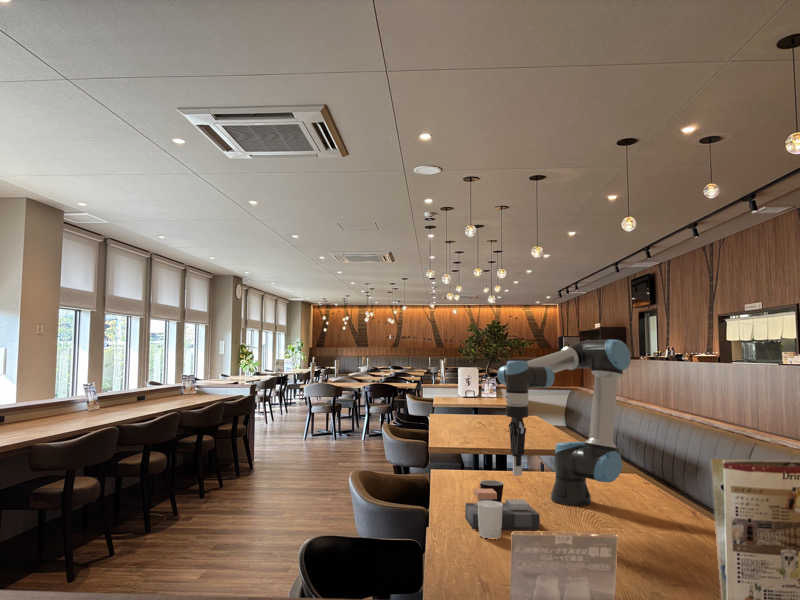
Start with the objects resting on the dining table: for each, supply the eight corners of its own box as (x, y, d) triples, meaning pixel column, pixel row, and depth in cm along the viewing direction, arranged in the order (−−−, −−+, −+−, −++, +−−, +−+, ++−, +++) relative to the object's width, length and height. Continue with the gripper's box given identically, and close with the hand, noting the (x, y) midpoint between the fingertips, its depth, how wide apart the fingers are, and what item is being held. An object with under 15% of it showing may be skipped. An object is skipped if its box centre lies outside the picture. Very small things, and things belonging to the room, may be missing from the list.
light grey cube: (523, 517, 193) (523, 499, 194) (529, 522, 187) (529, 504, 187) (505, 517, 192) (505, 499, 193) (510, 522, 186) (510, 504, 187)
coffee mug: (503, 514, 200) (503, 486, 201) (479, 512, 202) (479, 484, 203) (503, 506, 212) (503, 479, 213) (480, 504, 213) (481, 478, 215)
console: (527, 518, 197) (527, 503, 197) (539, 530, 183) (539, 514, 183) (465, 517, 195) (465, 503, 196) (473, 530, 181) (473, 514, 182)
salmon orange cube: (492, 506, 193) (492, 488, 193) (496, 511, 186) (496, 493, 187) (474, 506, 192) (474, 488, 193) (477, 511, 186) (478, 492, 186)
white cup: (496, 542, 170) (497, 508, 171) (473, 537, 174) (473, 504, 175) (506, 535, 176) (506, 502, 177) (483, 531, 180) (483, 499, 181)
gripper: (501, 403, 200) (501, 471, 197) (511, 406, 187) (511, 479, 184) (522, 403, 200) (522, 471, 198) (533, 407, 187) (534, 479, 185)
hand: (517, 475), depth 191 cm, fingers closed
